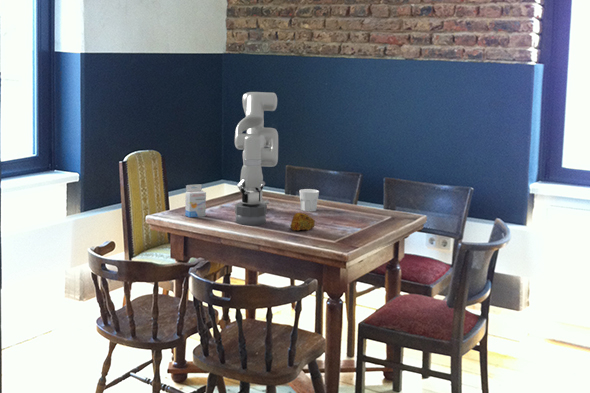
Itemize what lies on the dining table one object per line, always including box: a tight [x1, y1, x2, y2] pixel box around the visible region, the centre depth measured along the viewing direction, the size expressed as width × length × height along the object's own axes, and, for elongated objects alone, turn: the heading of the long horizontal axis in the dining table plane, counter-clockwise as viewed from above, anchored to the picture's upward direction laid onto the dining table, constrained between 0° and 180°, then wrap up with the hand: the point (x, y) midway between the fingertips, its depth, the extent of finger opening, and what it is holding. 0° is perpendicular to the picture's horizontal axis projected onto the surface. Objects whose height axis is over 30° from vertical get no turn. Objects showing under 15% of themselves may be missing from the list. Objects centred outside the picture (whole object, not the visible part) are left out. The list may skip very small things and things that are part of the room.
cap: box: [244, 190, 259, 205], centre depth 302 cm, size 7×7×6 cm
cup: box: [299, 188, 320, 212], centre depth 336 cm, size 10×10×10 cm
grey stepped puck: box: [234, 201, 268, 226], centre depth 304 cm, size 14×14×8 cm
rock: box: [289, 212, 316, 231], centre depth 293 cm, size 11×8×10 cm
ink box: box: [184, 183, 207, 218], centre depth 311 cm, size 8×5×15 cm, turn 123°
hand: (251, 201), depth 303 cm, fingers closed on cap, 7 cm apart
